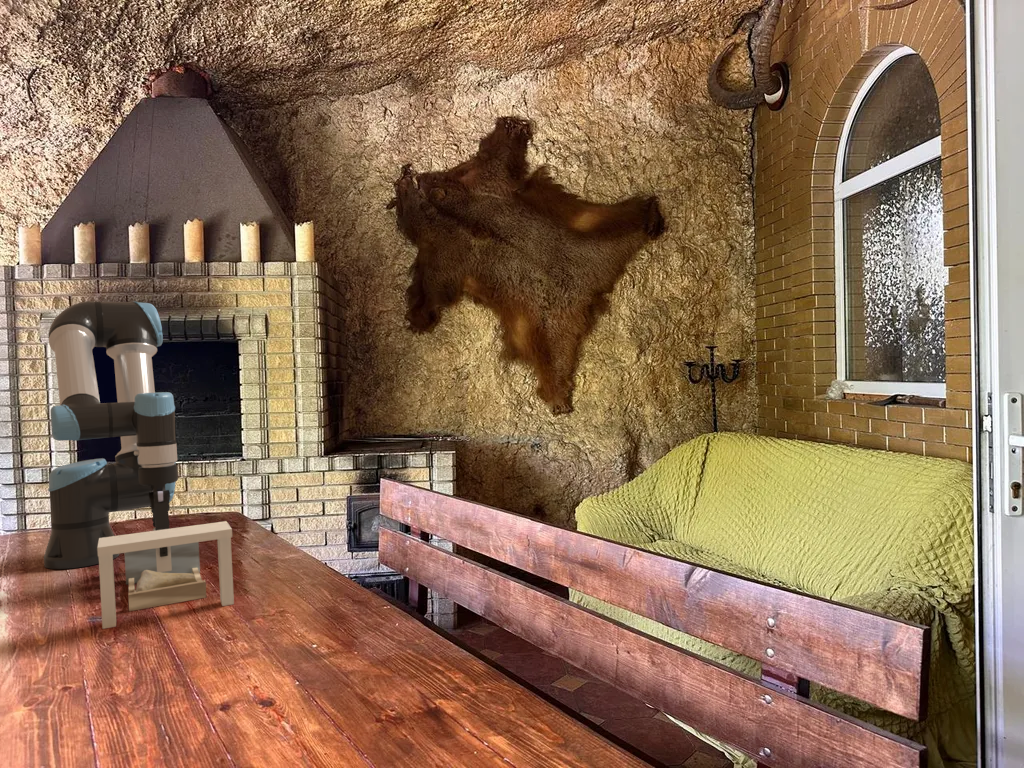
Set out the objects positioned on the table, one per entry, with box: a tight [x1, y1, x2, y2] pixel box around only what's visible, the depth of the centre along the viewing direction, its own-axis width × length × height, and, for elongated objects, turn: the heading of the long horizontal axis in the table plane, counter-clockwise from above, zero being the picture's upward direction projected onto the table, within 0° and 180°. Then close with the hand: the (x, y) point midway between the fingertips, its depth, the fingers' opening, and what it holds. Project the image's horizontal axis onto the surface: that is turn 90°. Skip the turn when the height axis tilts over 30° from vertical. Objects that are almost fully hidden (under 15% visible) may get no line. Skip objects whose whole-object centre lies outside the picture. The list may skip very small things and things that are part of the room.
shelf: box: [97, 520, 235, 630], centre depth 124 cm, size 8×21×14 cm, turn 119°
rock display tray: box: [123, 542, 207, 612], centre depth 139 cm, size 23×14×9 cm, turn 29°
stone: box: [135, 570, 198, 592], centre depth 136 cm, size 11×6×5 cm, turn 137°
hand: (162, 563), depth 148 cm, fingers open, 13 cm apart
